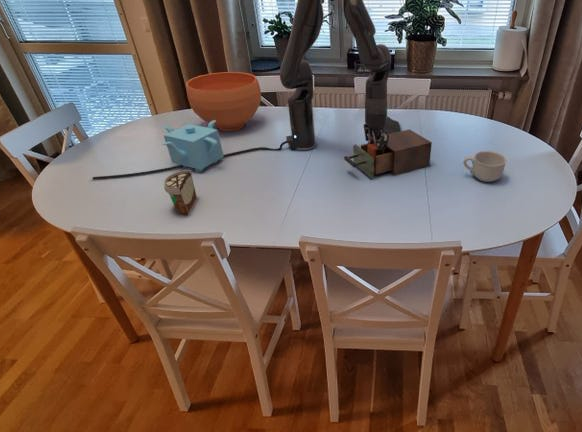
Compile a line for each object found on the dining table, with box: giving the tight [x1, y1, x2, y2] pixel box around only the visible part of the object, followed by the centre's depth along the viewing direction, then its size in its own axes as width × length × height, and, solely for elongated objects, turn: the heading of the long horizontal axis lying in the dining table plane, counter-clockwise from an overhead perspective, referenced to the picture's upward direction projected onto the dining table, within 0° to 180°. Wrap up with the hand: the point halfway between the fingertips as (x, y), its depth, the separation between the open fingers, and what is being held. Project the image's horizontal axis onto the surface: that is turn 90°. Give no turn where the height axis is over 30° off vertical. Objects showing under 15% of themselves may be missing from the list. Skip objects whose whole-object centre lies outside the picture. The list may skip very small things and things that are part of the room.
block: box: [367, 143, 384, 160], centre depth 139 cm, size 4×4×4 cm
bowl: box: [185, 71, 262, 132], centre depth 173 cm, size 30×30×20 cm
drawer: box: [343, 142, 393, 179], centre depth 141 cm, size 20×13×7 cm, turn 119°
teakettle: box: [161, 120, 225, 173], centre depth 143 cm, size 19×19×15 cm
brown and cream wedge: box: [163, 169, 198, 216], centre depth 120 cm, size 12×6×10 cm, turn 5°
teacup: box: [462, 150, 507, 183], centre depth 136 cm, size 14×11×8 cm
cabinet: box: [377, 129, 433, 176], centre depth 145 cm, size 16×14×9 cm
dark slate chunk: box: [384, 115, 402, 135], centre depth 172 cm, size 15×22×5 cm
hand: (375, 156), depth 141 cm, fingers closed on block, 4 cm apart
